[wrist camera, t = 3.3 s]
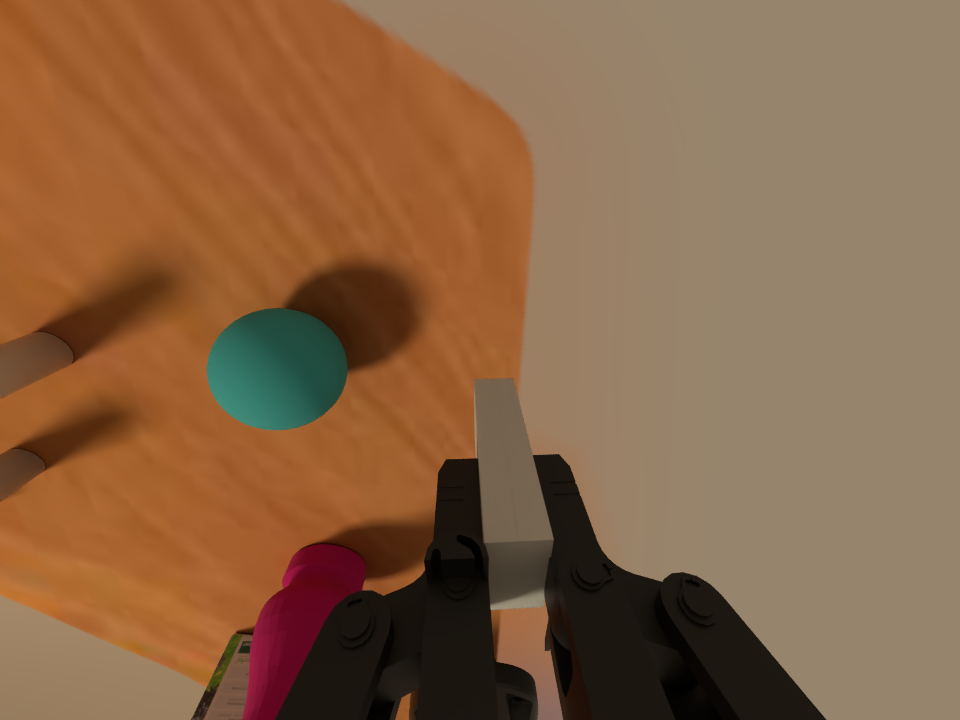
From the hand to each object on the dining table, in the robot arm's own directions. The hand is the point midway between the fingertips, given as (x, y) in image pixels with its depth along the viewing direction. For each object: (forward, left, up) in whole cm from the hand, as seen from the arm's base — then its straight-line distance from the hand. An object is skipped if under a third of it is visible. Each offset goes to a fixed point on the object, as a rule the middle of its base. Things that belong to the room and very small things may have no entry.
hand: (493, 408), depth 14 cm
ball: (0, +10, -4) cm, 11 cm away
